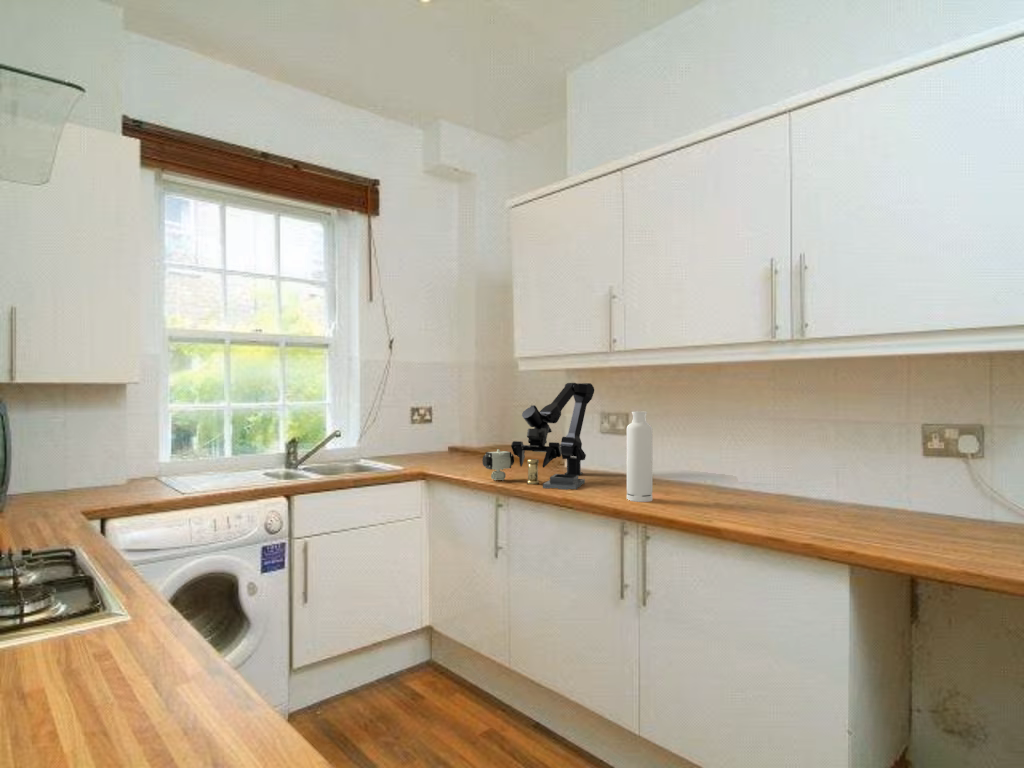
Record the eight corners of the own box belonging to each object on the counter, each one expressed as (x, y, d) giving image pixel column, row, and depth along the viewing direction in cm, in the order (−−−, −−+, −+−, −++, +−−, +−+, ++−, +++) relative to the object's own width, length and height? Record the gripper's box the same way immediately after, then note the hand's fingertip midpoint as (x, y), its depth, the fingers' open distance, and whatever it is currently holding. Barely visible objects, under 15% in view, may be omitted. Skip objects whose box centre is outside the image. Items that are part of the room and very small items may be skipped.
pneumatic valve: (482, 480, 222) (482, 449, 222) (509, 478, 227) (509, 448, 227) (487, 482, 217) (487, 450, 217) (515, 480, 222) (515, 449, 222)
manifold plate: (553, 481, 219) (553, 472, 219) (584, 483, 215) (584, 473, 215) (542, 488, 204) (542, 478, 204) (575, 489, 200) (575, 479, 200)
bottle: (628, 496, 188) (628, 411, 188) (653, 498, 185) (653, 411, 186) (624, 500, 180) (624, 412, 180) (651, 502, 177) (651, 412, 178)
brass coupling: (529, 482, 216) (529, 458, 216) (539, 483, 215) (539, 459, 215) (525, 484, 212) (525, 460, 212) (536, 485, 211) (536, 460, 211)
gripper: (512, 420, 221) (503, 451, 210) (559, 421, 215) (552, 453, 204) (518, 439, 228) (509, 470, 217) (564, 440, 222) (557, 472, 211)
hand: (531, 466), depth 212 cm, fingers open, 8 cm apart
